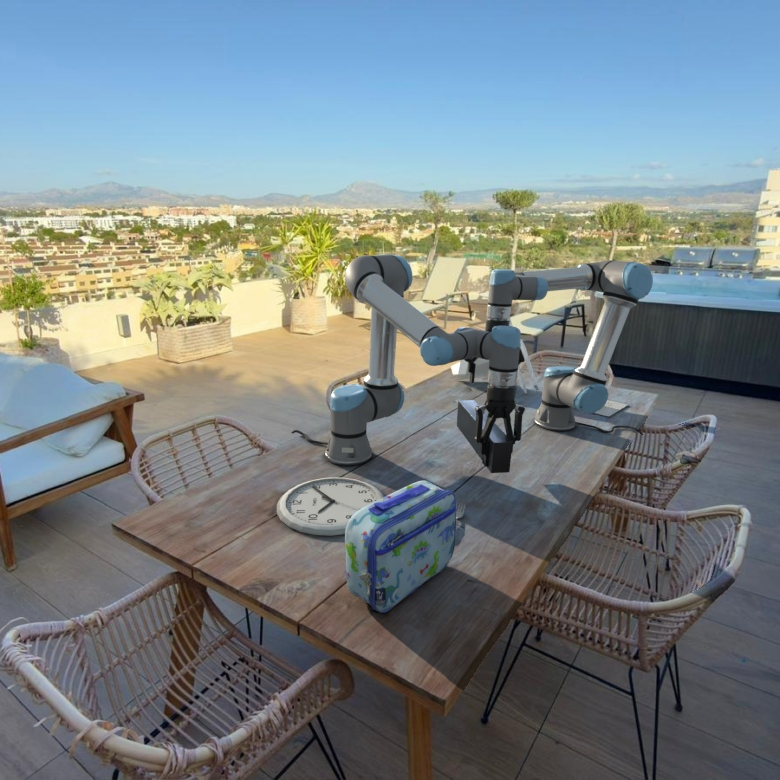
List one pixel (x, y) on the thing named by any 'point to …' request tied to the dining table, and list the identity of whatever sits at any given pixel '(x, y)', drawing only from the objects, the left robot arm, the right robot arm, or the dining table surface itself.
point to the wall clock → (325, 504)
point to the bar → (497, 440)
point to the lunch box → (399, 543)
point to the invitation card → (610, 408)
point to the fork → (459, 514)
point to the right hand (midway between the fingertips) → (491, 382)
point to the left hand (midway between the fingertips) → (495, 463)
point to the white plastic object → (483, 369)
